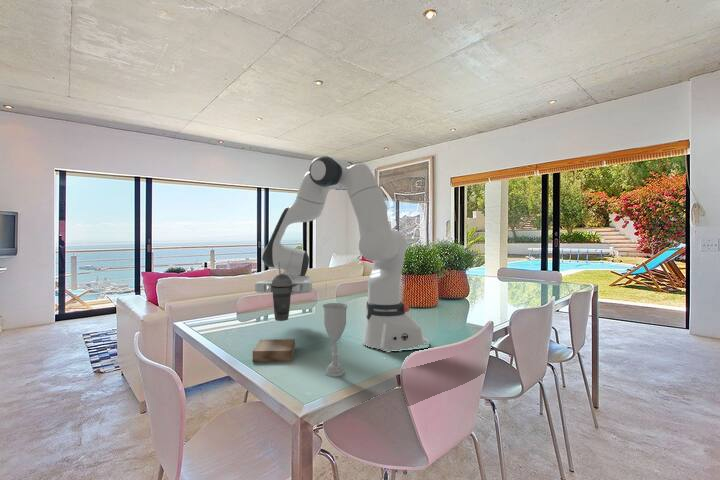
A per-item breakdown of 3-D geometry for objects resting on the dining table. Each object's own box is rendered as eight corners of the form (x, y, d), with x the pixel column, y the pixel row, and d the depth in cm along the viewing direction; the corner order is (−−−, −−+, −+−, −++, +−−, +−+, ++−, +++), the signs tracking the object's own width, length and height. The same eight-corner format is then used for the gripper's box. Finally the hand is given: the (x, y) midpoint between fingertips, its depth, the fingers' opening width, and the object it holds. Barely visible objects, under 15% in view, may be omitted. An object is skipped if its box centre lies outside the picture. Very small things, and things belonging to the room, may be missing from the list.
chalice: (322, 367, 95) (322, 303, 95) (346, 367, 96) (347, 302, 95) (321, 378, 88) (322, 308, 88) (348, 378, 88) (348, 308, 88)
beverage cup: (287, 322, 114) (287, 262, 114) (266, 321, 116) (267, 261, 115) (295, 317, 121) (296, 260, 121) (276, 316, 123) (276, 260, 122)
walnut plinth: (294, 348, 111) (295, 339, 111) (291, 360, 100) (291, 350, 100) (260, 349, 110) (260, 339, 110) (252, 361, 99) (252, 351, 99)
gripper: (258, 275, 130) (250, 280, 116) (313, 275, 132) (311, 280, 118) (258, 292, 130) (250, 299, 117) (313, 292, 132) (311, 298, 118)
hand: (281, 289), depth 117 cm, fingers closed on beverage cup, 7 cm apart
